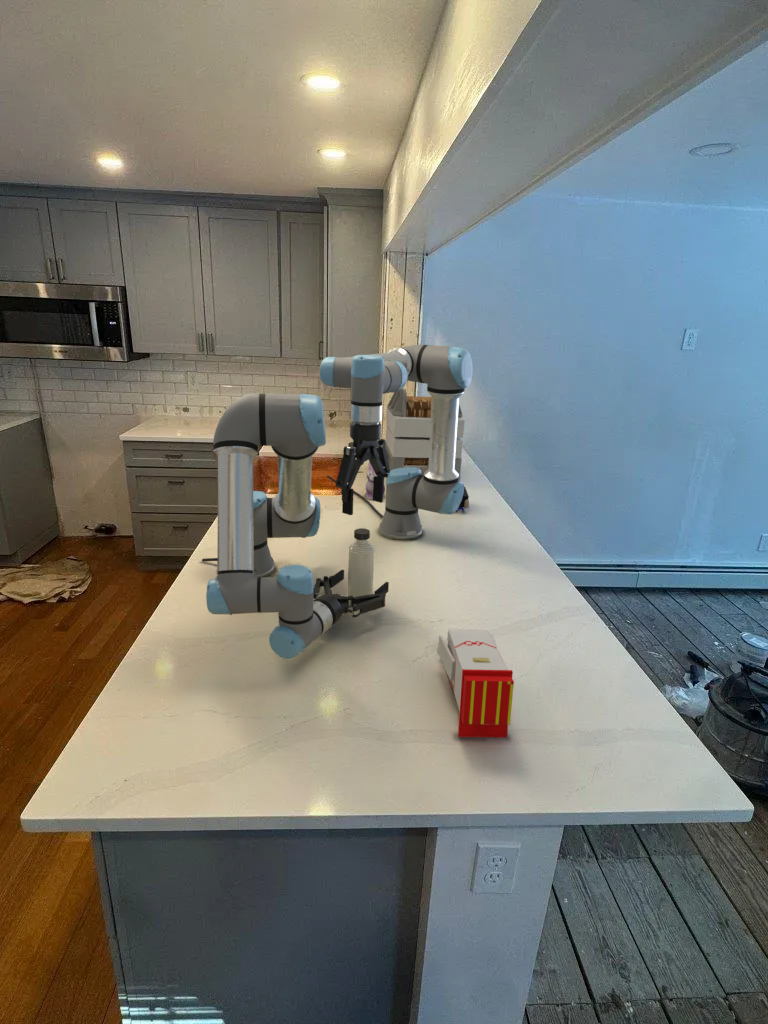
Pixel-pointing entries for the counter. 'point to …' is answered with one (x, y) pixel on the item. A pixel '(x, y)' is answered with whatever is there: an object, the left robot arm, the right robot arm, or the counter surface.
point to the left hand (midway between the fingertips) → (364, 580)
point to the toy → (478, 682)
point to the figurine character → (464, 501)
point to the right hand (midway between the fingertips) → (363, 507)
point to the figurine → (371, 483)
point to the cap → (361, 534)
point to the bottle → (360, 568)
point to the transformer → (413, 431)
